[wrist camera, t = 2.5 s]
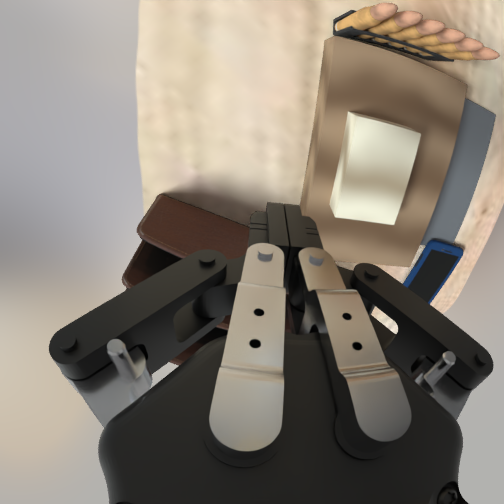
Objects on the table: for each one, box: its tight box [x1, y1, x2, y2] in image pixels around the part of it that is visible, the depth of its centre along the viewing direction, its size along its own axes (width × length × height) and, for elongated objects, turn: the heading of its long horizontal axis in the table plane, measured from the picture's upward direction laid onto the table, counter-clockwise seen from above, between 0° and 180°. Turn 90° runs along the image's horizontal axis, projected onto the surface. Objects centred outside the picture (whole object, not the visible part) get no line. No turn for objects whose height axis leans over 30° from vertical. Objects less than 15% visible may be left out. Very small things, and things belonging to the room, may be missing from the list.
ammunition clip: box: [333, 3, 500, 62], centre depth 14 cm, size 11×2×12 cm, turn 89°
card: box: [329, 111, 421, 225], centre depth 22 cm, size 9×6×2 cm, turn 175°
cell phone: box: [403, 240, 463, 304], centre depth 36 cm, size 7×14×1 cm, turn 169°
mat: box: [420, 98, 496, 245], centre depth 27 cm, size 20×9×1 cm, turn 175°
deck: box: [300, 36, 467, 267], centre depth 25 cm, size 22×14×4 cm, turn 175°
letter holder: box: [122, 194, 291, 365], centre depth 29 cm, size 10×20×14 cm, turn 66°
